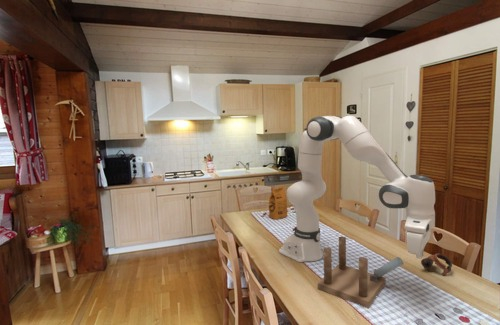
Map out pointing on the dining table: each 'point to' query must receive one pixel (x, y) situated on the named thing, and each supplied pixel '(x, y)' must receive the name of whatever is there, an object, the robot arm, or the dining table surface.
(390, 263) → the hinged leg
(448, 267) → the pottery mug
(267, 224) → the dining table surface
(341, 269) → the stool seat
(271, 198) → the coffee package
